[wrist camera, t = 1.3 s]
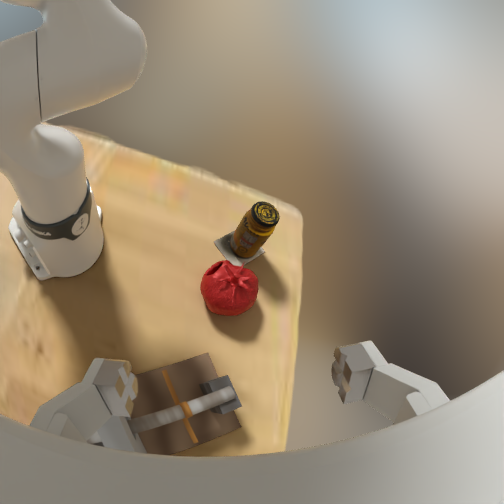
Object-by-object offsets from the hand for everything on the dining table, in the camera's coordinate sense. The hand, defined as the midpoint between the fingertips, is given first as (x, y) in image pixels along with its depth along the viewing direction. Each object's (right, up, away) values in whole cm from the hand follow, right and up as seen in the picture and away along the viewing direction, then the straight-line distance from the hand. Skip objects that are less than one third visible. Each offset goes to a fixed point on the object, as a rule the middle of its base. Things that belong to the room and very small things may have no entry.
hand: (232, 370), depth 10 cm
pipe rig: (-14, -21, +26) cm, 36 cm away
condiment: (-2, +5, +47) cm, 48 cm away
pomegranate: (-5, -3, +41) cm, 41 cm away
